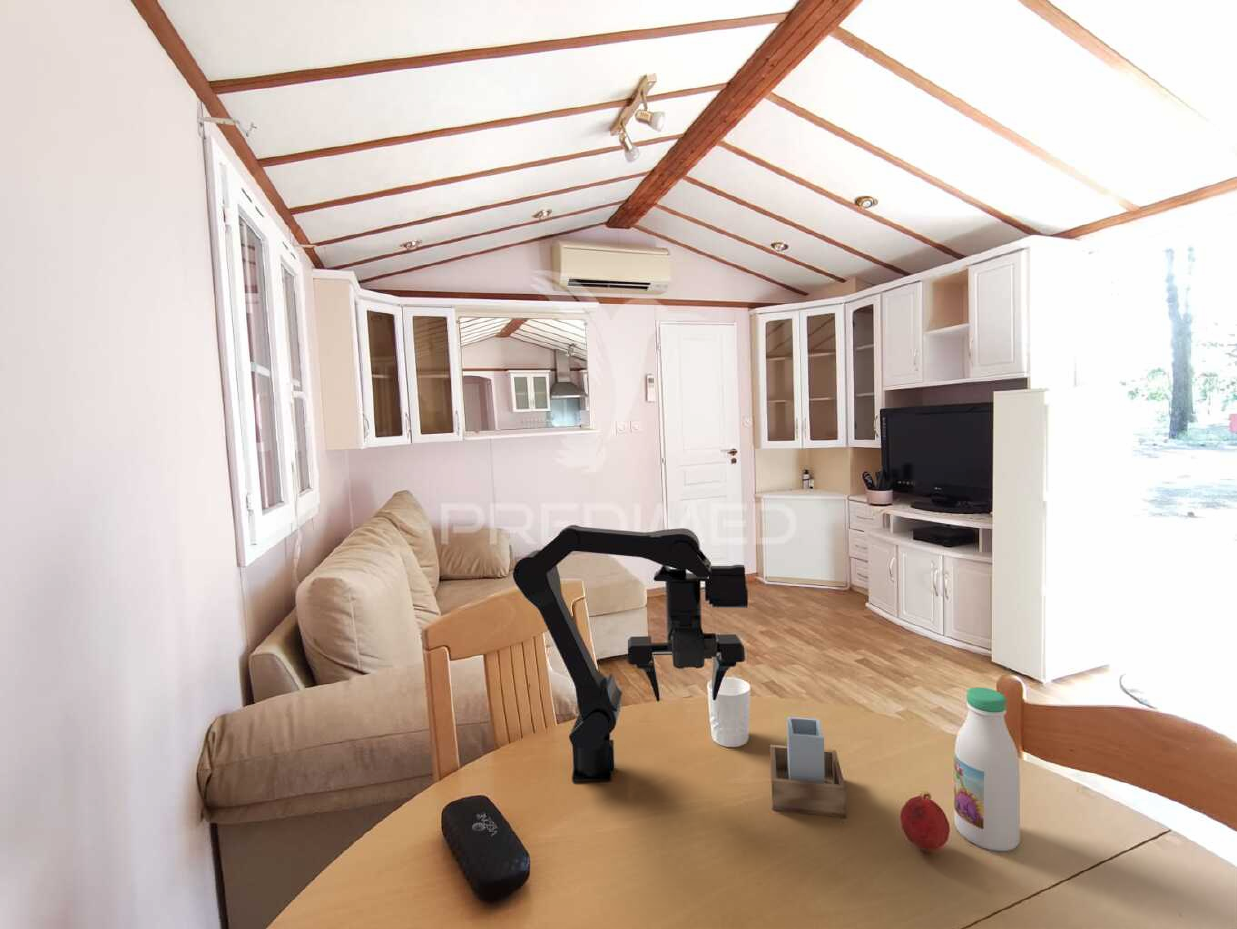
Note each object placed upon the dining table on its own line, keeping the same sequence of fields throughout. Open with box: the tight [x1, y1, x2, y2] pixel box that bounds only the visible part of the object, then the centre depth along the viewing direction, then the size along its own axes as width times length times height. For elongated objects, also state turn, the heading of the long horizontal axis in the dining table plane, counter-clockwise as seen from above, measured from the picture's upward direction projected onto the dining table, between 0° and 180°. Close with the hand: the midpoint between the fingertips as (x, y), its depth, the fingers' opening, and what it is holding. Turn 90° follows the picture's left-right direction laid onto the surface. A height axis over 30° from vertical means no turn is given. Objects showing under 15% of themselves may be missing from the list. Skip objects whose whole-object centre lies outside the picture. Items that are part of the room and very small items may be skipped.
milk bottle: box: [953, 687, 1021, 852], centre depth 81 cm, size 8×8×20 cm
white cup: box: [706, 676, 751, 748], centre depth 109 cm, size 8×8×10 cm
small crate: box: [786, 716, 825, 783], centre depth 91 cm, size 5×6×10 cm
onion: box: [899, 791, 951, 852], centre depth 78 cm, size 6×6×8 cm
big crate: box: [769, 744, 847, 819], centre depth 92 cm, size 10×10×4 cm
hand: (686, 699), depth 96 cm, fingers open, 9 cm apart
